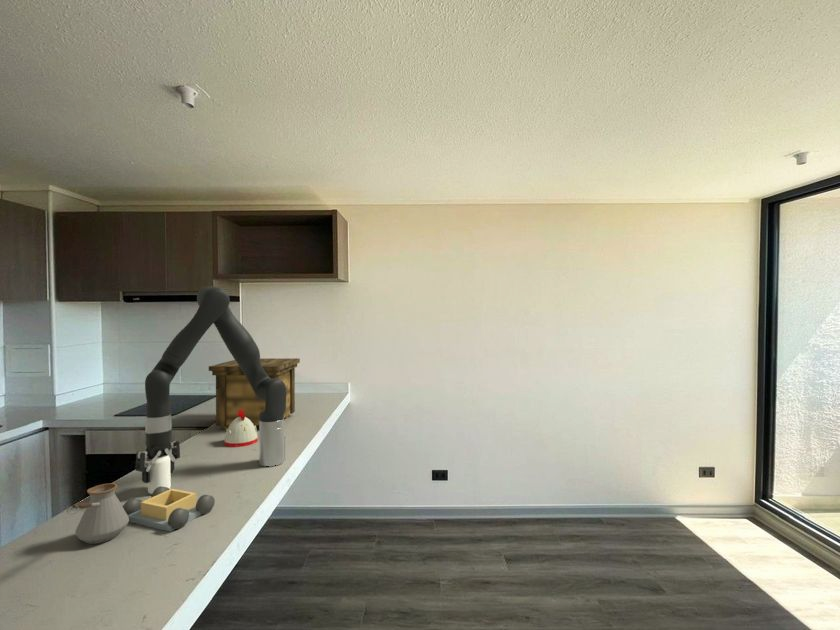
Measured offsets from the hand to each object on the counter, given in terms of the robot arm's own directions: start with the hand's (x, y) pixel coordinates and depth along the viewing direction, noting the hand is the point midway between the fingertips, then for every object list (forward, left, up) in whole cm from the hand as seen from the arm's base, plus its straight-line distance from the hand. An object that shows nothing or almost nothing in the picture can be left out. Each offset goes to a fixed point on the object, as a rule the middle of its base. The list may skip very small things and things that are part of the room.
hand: (158, 477), depth 140 cm
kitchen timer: (-51, -13, -5) cm, 53 cm away
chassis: (+11, +18, -5) cm, 21 cm away
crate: (-82, -30, -5) cm, 87 cm away
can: (0, 0, -5) cm, 5 cm away
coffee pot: (+29, +15, -5) cm, 33 cm away
